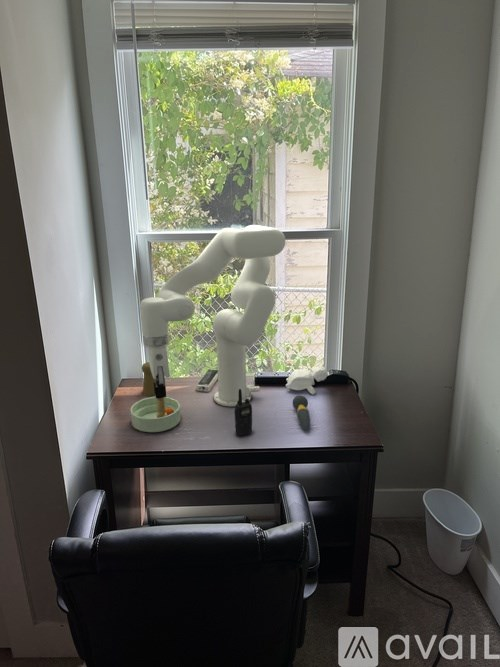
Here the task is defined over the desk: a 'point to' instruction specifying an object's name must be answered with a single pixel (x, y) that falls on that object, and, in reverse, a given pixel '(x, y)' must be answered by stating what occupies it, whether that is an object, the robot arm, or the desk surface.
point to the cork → (148, 380)
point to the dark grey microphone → (302, 411)
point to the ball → (169, 411)
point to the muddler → (161, 407)
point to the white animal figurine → (305, 378)
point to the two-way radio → (243, 416)
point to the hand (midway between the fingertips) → (160, 395)
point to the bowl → (154, 415)
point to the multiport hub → (207, 381)
